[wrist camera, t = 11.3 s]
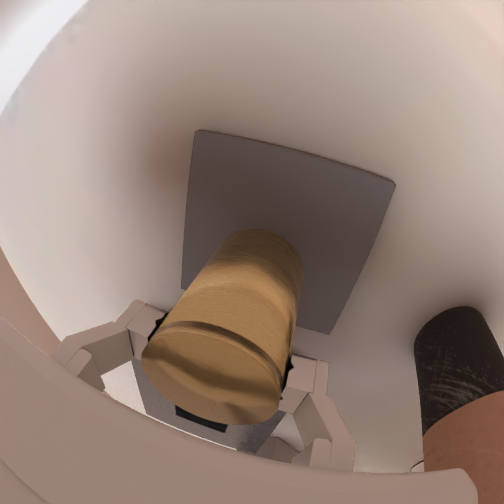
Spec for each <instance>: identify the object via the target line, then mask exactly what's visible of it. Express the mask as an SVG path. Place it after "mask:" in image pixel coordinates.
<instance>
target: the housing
mask: <svg viewBox="0 0 504 504" xmlns="http://www.w3.org/2000/svg"><path fill="white" fill-rule="evenodd" d="M131 361H132V365H133V369H134V372H135V376H136V380H137V384H138V387H139V391H140V394H141V398H142V401H143V404H144V407H145V410H146V414H148V415H150V416H152V417H154V418H156V419H159V420H161V421H163V422H165V423H168V424H170V425H172V426H174V427H177V428H179V429H182V430H184V431H187V432H189V433H192V434H194V435H197V436H200V437H202V438H205V439H208V440H211V441H214V442H217V443H220V444H223V445H226V446H229V447H232V448H236V449H239V450H243V451H246V452H250V453H253V454H256V452H257V451H258V450H259V449H260V447H261V446H262V445H263V443H264V442H265V441H266V440H267V438H268V437H269V436H270V434H271V433H272V432H273V430H274V429H275V428H276V426H277V425H278V424H279V422H280V421H281V419H282V418H283V417H284V415H285V414H286V412H284V411H281V410H277V411H276V413H275V414H274V415H273V416H272V417H271V418H269V419H268V420H266V421H263V422H261V423H257V424H252V425H229V424H223V423H218V422H214V421H210V420H207V419H204V418H201V417H199V416H196V415H194V414H192V413H189V412H187V411H186V410H184V409H182V408H180V407H179V406H177V405H175V404H174V403H172V402H171V401H170V400H168V399H167V398H166V397H165V396H163V395H162V394H161V393H160V392H159V391H158V390H157V389H156V388H155V387H154V386H153V385H152V383H151V382H150V381H149V379H148V378H147V376H146V374H145V372H144V370H143V367H142V364H141V360H139V359H137V358H134V359H132V360H131Z"/></svg>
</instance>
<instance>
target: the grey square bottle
mask: <svg viewBox="0 0 504 504" xmlns="http://www.w3.org/2000/svg"><path fill="white" fill-rule="evenodd" d="M237 451H239V452H243V453H247V454H250V455H254V456H258V457H262V458H266V459H271V460H275V461H280V462H285V463H290V464H291V463H292V458H293V457H295V456H296V455H297V454H298V453H299V452H298V451H297V450H295V449H294V448H293V447H291V446H290V445H288V444H287V443H286V442H284V441H283V440H281V439H280V438H279V437H268V438H267V440H266V441H265V442H264V443H263V445H262V446H261V447H260V449H259V450H258V451H257V452H256V454H253V453H250V452H246V451H243V450H239V449H237Z"/></svg>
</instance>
